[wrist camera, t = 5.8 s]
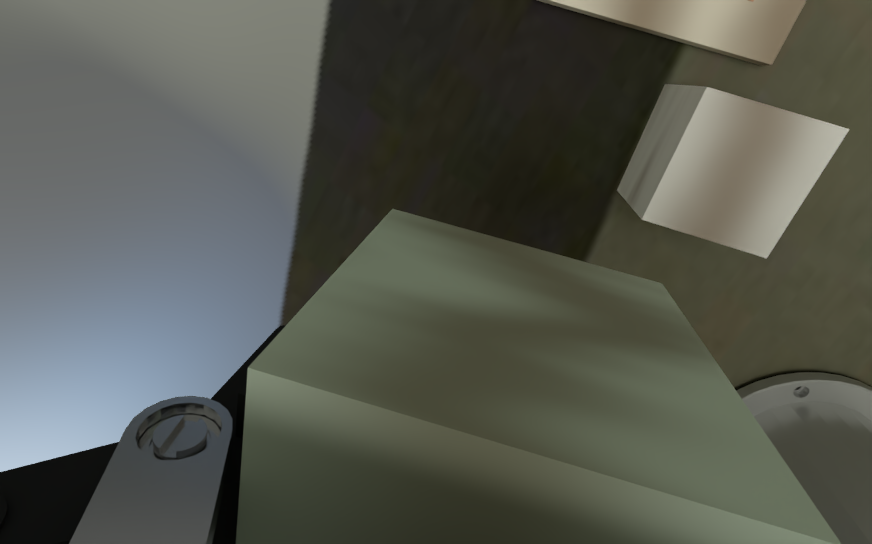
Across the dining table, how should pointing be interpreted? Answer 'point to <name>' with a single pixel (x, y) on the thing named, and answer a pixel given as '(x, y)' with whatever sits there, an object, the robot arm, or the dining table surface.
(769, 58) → the board
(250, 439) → the sage block
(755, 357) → the dining table surface
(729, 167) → the cream block
